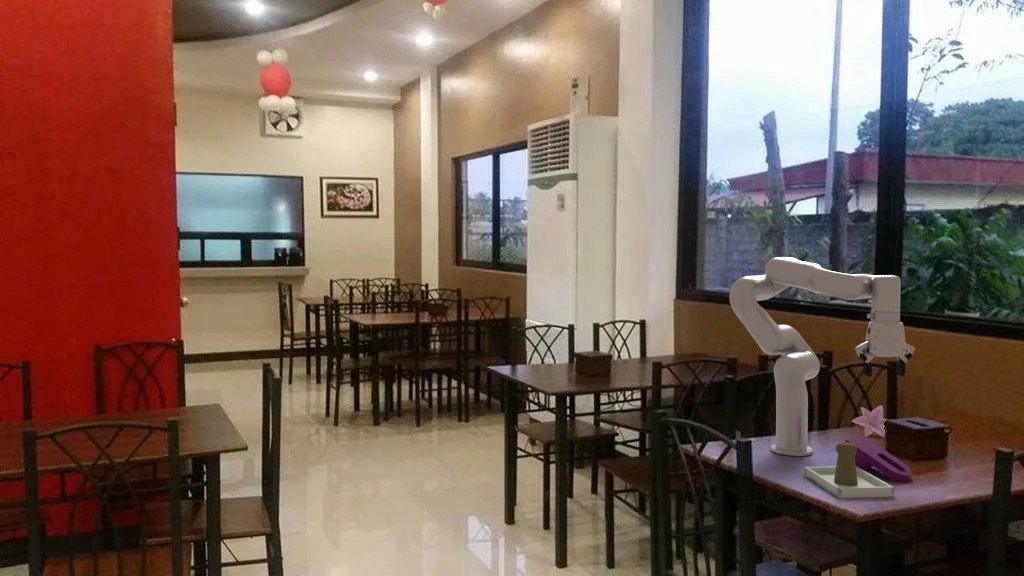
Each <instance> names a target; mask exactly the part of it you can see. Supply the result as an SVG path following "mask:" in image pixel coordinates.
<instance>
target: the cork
mask: <svg viewBox="0 0 1024 576" xmlns="http://www.w3.org/2000/svg"><path fill="white" fill-rule="evenodd" d="M835 450H836V451H835V452H836V454H837V459H836V460H837V461H836V464H835V466H836V471H835V477H834V482H835V483H836V484H839V485H844V486H856V485H858V481H857V473H856V465H855V457H854V456H855V454H856V452H857V448H856V446H855V445H854V444H852V443H848V442H845V441H842V442H837V444H836V446H835Z"/></svg>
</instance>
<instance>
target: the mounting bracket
mask: <svg viewBox="0 0 1024 576" xmlns="http://www.w3.org/2000/svg"><path fill="white" fill-rule="evenodd" d="M844 442H848V443H852V444H854V445H855V446H856V448H857V452H856V454H855V456H854V457H855V465H856V466H857V467H858V468H860V469H862V470H864V471H866V470H869V469H872V468H875V469H876V470H878V471H879V472H881V473H882V474H884V475H885V476H887V477H888V478H891V479H893V480H894V481H899V482H906V481H909V479H910V477H911V475H912V474H913V472H912V470H911V468H910V467H909V465H907V464H906V463H904V462H903V461H902V460H900V459H899V458H897V457H896V456H894V455H892V454H891V453H890V452H888V451H887V450H885V449H883V448H882V447H880V446H879V445H878V444H876V443H874V441H872V440H871V439H869V438H867V437H865V435H863V434H858V435H855V436H852V437H849V438H846V439H845V440H844Z"/></svg>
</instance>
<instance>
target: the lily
mask: <svg viewBox="0 0 1024 576" xmlns="http://www.w3.org/2000/svg"><path fill="white" fill-rule="evenodd" d="M860 409H861V413H862V415H861V416H858V417H855V418H853V419H852V420H851V422H852V423H854V424H857V425H859V426H862V427H864V437H866V438H867V437H868V436H870V435H872V434H873V433H874V432H875V433H876V434H877V435H879V436H881V437H882V438H884V435H885V430H884V427H885V426H884V422H885V421H886V420H888V419H887V418H884V407H883V404H882V405H881V404H880V405H879V406H877V407H876V408H874V409H872V411H869V409H866V408H865V407H863V406H861V407H860Z"/></svg>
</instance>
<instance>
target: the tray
mask: <svg viewBox="0 0 1024 576" xmlns="http://www.w3.org/2000/svg"><path fill="white" fill-rule="evenodd" d="M835 471H836V465H834V466H804V473H803V474H804V475H805V476H804V477H806V476H807V477H808V478H807V477H806V478H807V479H808V480H810V479H811V480H810V481H812V482H813V481H814V482H813V483H815V484H816V483H817V484H816V485H818V486H819V485H820V486H819V487H821V488H822V487H823V488H822V489H823V490H825V489H826V492H829V493H830V494H831V493H832V494H831V495H833V496H834V495H835V497H836V498H837V499H850V498H853V499H855V498H857V499H858V498H860V499H861V498H889V497H890V498H892V497H895V486H893V485H891V484H889V483H887V482H886V481H884V480H882V479H880V478H878V477H876V475H875V476H874V475H873V474H871V473H870V472H868V471H866V470H862V469H860V468H858V467H857V466H856V473H857V481H858V485H856V486H844V485H839V484H836V483H835V482H834V477H835Z"/></svg>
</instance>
